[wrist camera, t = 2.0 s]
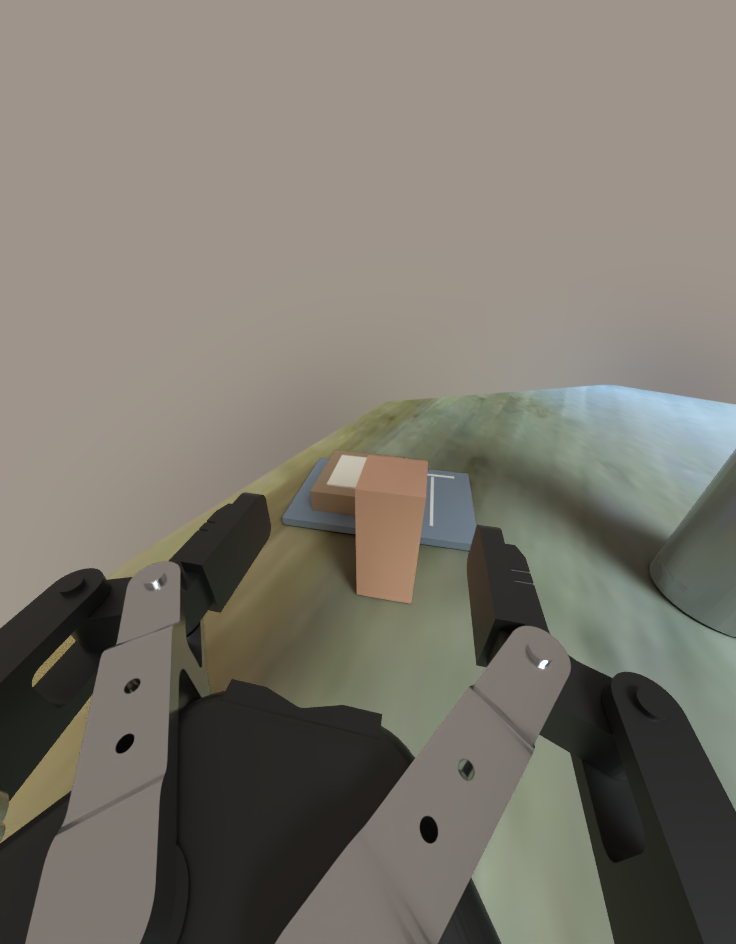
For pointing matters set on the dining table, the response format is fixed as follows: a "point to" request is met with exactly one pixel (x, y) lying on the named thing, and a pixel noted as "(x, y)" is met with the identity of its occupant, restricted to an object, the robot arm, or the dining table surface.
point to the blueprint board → (438, 535)
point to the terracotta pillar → (389, 526)
